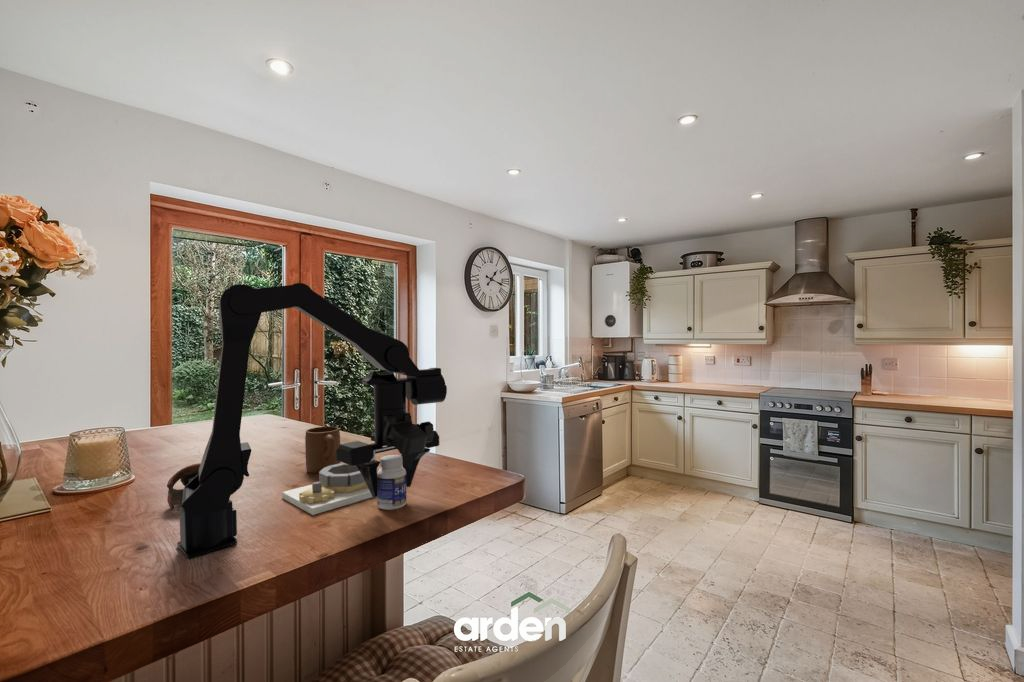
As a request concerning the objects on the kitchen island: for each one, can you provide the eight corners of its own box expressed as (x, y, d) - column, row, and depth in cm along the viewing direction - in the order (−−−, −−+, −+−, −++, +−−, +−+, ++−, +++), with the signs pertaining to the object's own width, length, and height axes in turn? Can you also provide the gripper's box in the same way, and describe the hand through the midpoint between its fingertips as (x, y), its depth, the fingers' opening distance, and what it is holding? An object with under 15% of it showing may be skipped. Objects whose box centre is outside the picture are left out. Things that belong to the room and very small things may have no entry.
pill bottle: (399, 511, 85) (398, 462, 85) (372, 509, 86) (371, 460, 86) (411, 500, 90) (410, 454, 90) (385, 499, 91) (384, 453, 91)
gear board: (311, 515, 84) (311, 490, 84) (281, 498, 93) (281, 475, 93) (390, 491, 96) (390, 469, 96) (357, 478, 104) (357, 458, 104)
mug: (350, 474, 107) (349, 433, 107) (315, 481, 103) (314, 438, 103) (335, 462, 117) (334, 424, 117) (302, 468, 113) (301, 428, 113)
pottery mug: (241, 499, 94) (224, 470, 89) (191, 534, 88) (170, 505, 83) (213, 474, 100) (196, 445, 96) (165, 505, 94) (145, 476, 90)
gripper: (368, 420, 76) (370, 517, 76) (457, 405, 89) (458, 488, 90) (333, 412, 83) (335, 501, 83) (421, 400, 97) (422, 476, 97)
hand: (391, 491), depth 88 cm, fingers open, 7 cm apart
